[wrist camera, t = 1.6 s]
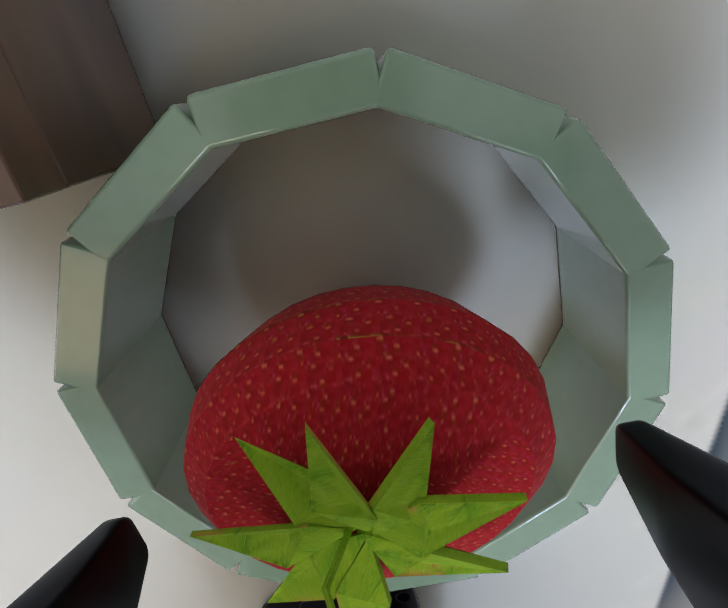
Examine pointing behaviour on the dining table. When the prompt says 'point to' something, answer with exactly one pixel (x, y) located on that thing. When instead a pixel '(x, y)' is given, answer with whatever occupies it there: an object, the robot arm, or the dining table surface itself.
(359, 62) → the holder
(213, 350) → the dining table surface
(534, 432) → the strawberry
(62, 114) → the shelf
